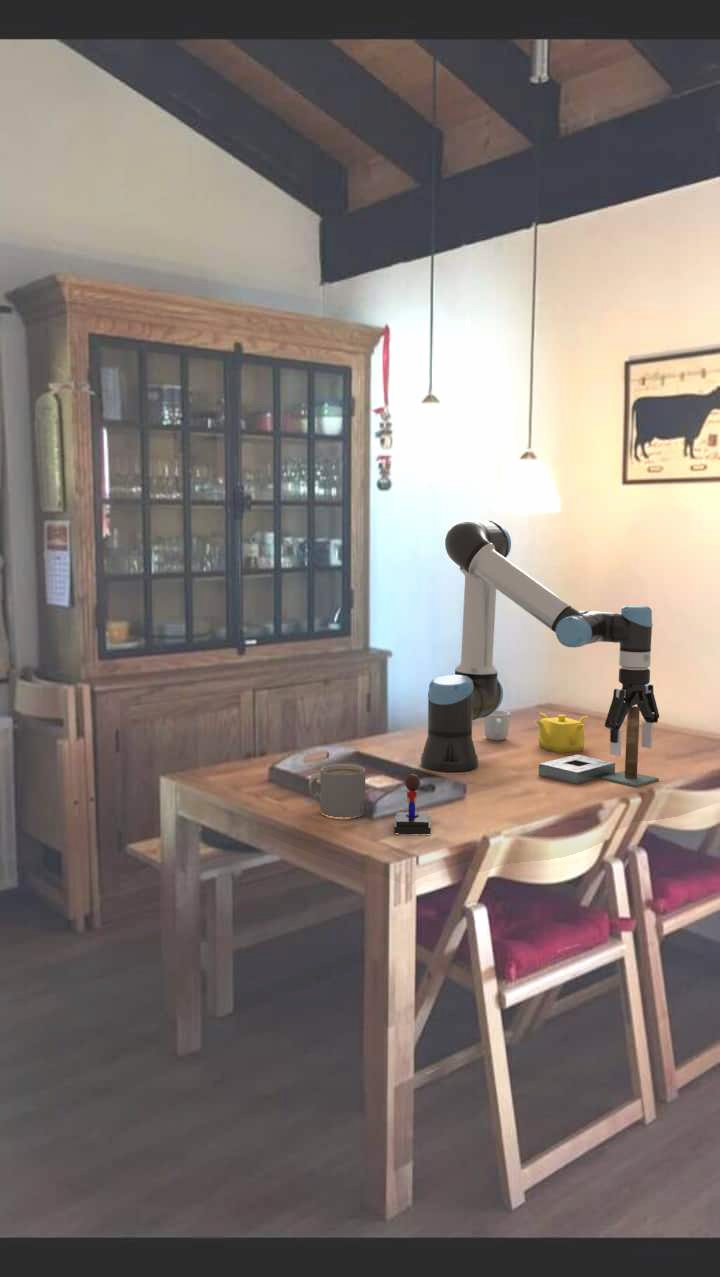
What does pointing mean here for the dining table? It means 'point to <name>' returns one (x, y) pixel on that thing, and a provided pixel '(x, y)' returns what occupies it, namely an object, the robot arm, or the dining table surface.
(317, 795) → the coffee mug
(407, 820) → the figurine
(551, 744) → the teapot
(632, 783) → the coaster
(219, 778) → the dining table surface
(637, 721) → the brown wooden block
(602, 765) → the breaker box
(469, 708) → the robot arm
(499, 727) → the cup
